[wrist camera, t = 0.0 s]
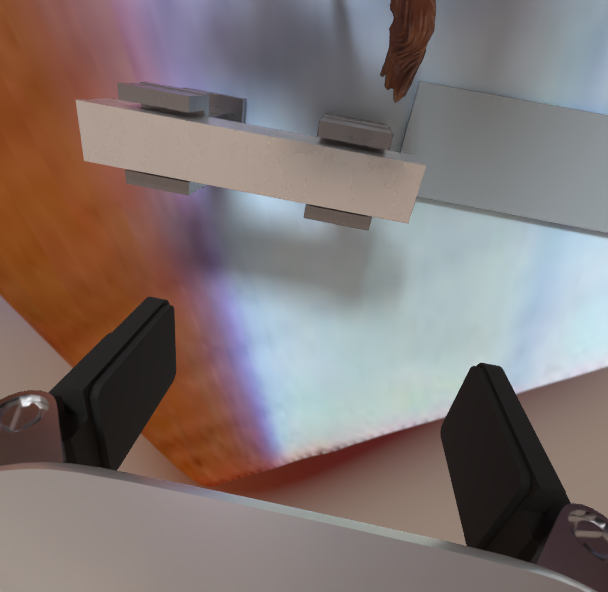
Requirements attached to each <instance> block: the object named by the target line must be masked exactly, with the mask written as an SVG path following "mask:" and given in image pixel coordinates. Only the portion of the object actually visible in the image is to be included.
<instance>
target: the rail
mask: <svg viewBox="0 0 608 592" xmlns="http://www.w3.org/2000/svg"><path fill="white" fill-rule="evenodd" d="M76 105H77V113H78V120H79V127H80V134H81V141H82V148H83V155H84V161H88V162H93V163H98V164H103V165H109V166H114V167H119V168H124V169H129V170H134V171H140V172H145V173H150V174H155V175H160V176H165V177H171V178H176V179H181V180H186V181H191V182H196V183H202V184H207V185H212V186H217V187H222V188H227V189H233V190H238V191H243V192H248V193H253V194H258V195H264V196H269V197H274V198H279V199H284V200H290V201H295V202H300V203H305V204H310V205H315V206H321V207H326V208H331V209H336V210H341V211H346V212H352V213H357V214H362V215H367V216H372V217H377V218H383V219H388V220H393V221H398V222H403V223H408V222H409V219H410V216H411V213H412V210H413V206H414V203H415V200H416V197H417V194H418V190H419V187H420V184H421V181H422V178H423V174H424V171H425V168H426V165H425V164H424V163H423V161H422V160H421V159H420V158H419V157H418V156H416V155H410V154H405V153H400V152H394V151H389V150H384V149H378V148H373V147H368V146H362V145H357V144H352V143H346V142H341V141H336V140H330V139H325V138H320V137H314V136H309V135H304V134H298V133H293V132H288V131H282V130H277V129H272V128H266V127H261V126H256V125H250V124H245V123H239V122H234V121H229V120H223V119H218V118H213V117H207V116H202V115H197V114H191V113H186V112H181V111H175V110H170V109H165V108H159V107H154V106H149V105H143V104H138V103H133V102H127V101H122V100H117V99H111V98H104V99H82V100H76Z"/></svg>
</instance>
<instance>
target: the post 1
mask: <svg viewBox="0 0 608 592" xmlns="http://www.w3.org/2000/svg"><path fill="white" fill-rule="evenodd" d="M118 95H119V100H125V101H130V102H135V103H141V104H143V105H149V106H154V107H159V108H165V109H170V110H175V111H181V112H186V113H191V114H197V115H202V116H207V117H213V118H218V119H223V120H229V121H234V122H239V123H244V121H245V106H246V99H244V98H239V97H233V96H228V95H223V94H217V93H212V92H206V91H201V90H196V89H190V88H183V89H182V88H176V87H171V86H166V85H160V84H155V83H149V82H140V83H118ZM125 175H126V183H127V184H132V185H138V186H143V187H148V188H153V189H158V190H163V191H168V192H173V193H179V194H184V195H191V194H192V193H194V192H195V191H197V190H198V189H200V188H201V187H202V188H203V187H205V186H206V185H207V184H202V183H196V182H191V181H186V180H181V179H176V178H171V177H165V176H160V175H155V174H150V173H145V172H140V171H134V170H129V169H127V170H125Z"/></svg>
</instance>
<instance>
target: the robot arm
mask: <svg viewBox="0 0 608 592" xmlns="http://www.w3.org/2000/svg"><path fill="white" fill-rule="evenodd" d="M175 375H176V348H175V318H174V307H173V306H171V305H169V302H168V301H167V300H164V299H159V298H154V297H148V298H146V299H145V300H144V301H143V302H142V303H141V304H140V305H139V306H138V307H137V308H136V309H135V310H134V311H133V312H132V313H131V314H130V315H129V316H128V317H127V318H126V319H125V320H124V321H123V322H122V323H121V324H120V325H119V326H118V327H117V328H116V329H115V330H114V331H113V332H112V333H109V334H108V335H106V336H105V337H104V338H103V339H102V340H101V341H100V342H99V343H98V344H97V345H96V346H95V347H94V348H93V349H92V350H91V351H90V352H89V353H88V354H87V355H86V356H85V357H84V358H83V359H82V360H81V361H80V362H79V363H78V364H77V365H76V366H75V367H74V368H73V369H72V370H71V371H70V372H69V373H68V374H67V375H66V376H65V377H64V378H63V379H62V380H61V381H60V382H59V383H58V384H57V385H56V386H55V387H54V388H53V389H52V390H51V391H50V392H49V393H48V392H45V391H41V390H27V391H21V392H17V393H14V394H12V395H8V396H6V397H4V398H2V399H0V592H608V518H607V517H605V516H604V515H603V514H601V513H599V512H598V511H596V510H594V509H593V508H590V507H588V506H585V505H583V504H576V503H570V501H569V499H568V497H567V495H566V493H565V492H566V491H565V490H564V488H563V486H562V484H561V482H560V480H559V478H558V476H557V474H556V472H555V470H554V468H553V466H552V465H551V462H550V461H549V459H548V456H547V454H546V453H545V451H544V449H543V447H542V445H541V443H540V441H539V439H538V437H537V435H536V433H535V431H534V430H533V427H532V425H531V423H530V421H529V419H528V417H527V415H526V414H525V412H524V410H523V408H522V406H521V404H520V402H519V400H518V398H517V396H516V394H515V392H514V390H513V388H512V386H511V384H510V382H509V380H508V378H507V376H506V374H505V372H504V371H503V369H502V368H501V367H500V366H496V365H491V364H486V363H479V364H478V365H477V366H472V367H471V368H470V370H469V372H468V374H467V376H466V378H465V380H464V382H463V384H462V386H461V388H460V390H459V392H458V394H457V396H456V398H455V400H454V402H453V404H452V406H451V408H450V410H449V412H448V414H447V416H446V418H445V420H444V422H443V424H442V427H441V439H442V443H443V447H444V452H445V456H446V460H447V464H448V469H449V473H450V477H451V482H452V486H453V490H454V494H455V498H456V503H457V507H458V511H459V515H460V519H461V524H462V528H463V532H464V537H465V541H466V544H467V546H464V545H460V544H456V543H452V542H447V541H443V540H439V539H434V538H430V537H425V536H421V535H416V534H412V533H407V532H402V531H398V530H394V529H389V528H384V527H380V526H375V525H371V524H366V523H362V522H358V521H353V520H349V519H344V518H340V517H335V516H330V515H326V514H321V513H317V512H311V511H307V510H302V509H298V508H293V507H289V506H284V505H280V504H275V503H270V502H266V501H261V500H256V499H251V498H247V497H242V496H238V495H232V494H228V493H224V492H218V491H214V490H209V489H205V488H199V487H195V486H190V485H185V484H181V483H176V482H171V481H167V480H162V479H157V478H152V477H147V476H141V475H136V474H131V473H126V472H121V471H117V469H118V468H119V466H120V465H121V463H122V462H123V460H124V459H125V457H126V455H127V454H128V452H129V451H130V449H131V448H132V446H133V444H134V442H135V441H136V439H137V438H138V436H139V435H140V433H141V432H142V430H143V428H144V427H145V425H146V424H147V422H148V420H149V419H150V417H151V416H152V414H153V413H154V411H155V409H156V408H157V406H158V405H159V403H160V401H161V400H162V398H163V397H164V395H165V393H166V392H167V390H168V389H169V387H170V385H171V384H172V382H173V380H174V378H175Z"/></svg>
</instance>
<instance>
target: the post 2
mask: <svg viewBox="0 0 608 592" xmlns="http://www.w3.org/2000/svg"><path fill="white" fill-rule="evenodd" d="M317 137H320V138H325V139H330V140H336V141H341V142H346V143H352V144H357V145H362V146H368V147H373V148H378V149H384V150H385V149H386V150H389V149H390V145H391V141H392V137H393V133H392V132H391V130H390V127H387V125H385V124H379V123H374V122H368V121H363V120H358V119H352V118H347V117H341V116H336V115H331V114H325V115H324V116H323V118H322V119H321V120H319V126H318V132H317ZM304 218H307V219H312V220H317V221H322V222H328V223H333V224H338V225H343V226H348V227H353V228H358V229H363V230H369V226H370V223H371V219H372V216H367V215H362V214H357V213H352V212H346V211H341V210H336V209H331V208H326V207H321V206H315V205H310V204H306V207H305V213H304Z"/></svg>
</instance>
